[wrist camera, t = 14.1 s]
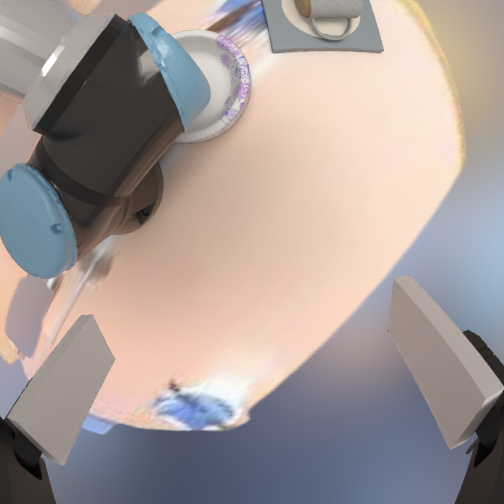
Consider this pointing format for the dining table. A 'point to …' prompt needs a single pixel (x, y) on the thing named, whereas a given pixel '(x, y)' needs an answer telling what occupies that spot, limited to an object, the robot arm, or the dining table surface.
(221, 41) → the paper bowls
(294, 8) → the board
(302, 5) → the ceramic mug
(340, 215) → the dining table surface
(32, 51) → the robot arm
